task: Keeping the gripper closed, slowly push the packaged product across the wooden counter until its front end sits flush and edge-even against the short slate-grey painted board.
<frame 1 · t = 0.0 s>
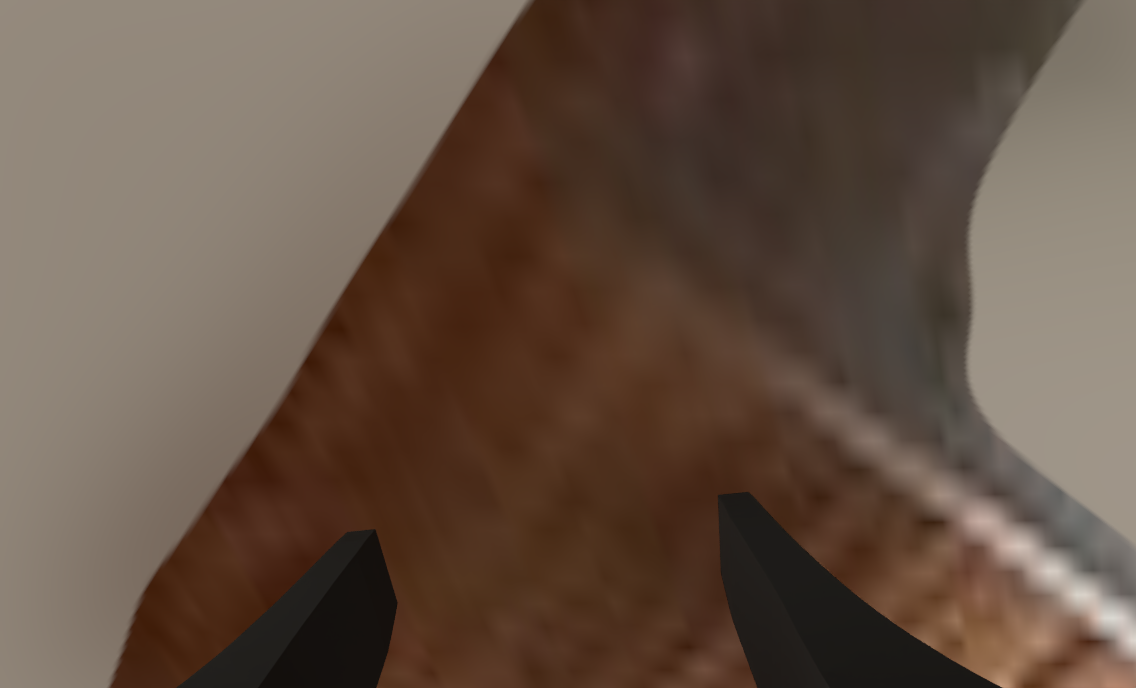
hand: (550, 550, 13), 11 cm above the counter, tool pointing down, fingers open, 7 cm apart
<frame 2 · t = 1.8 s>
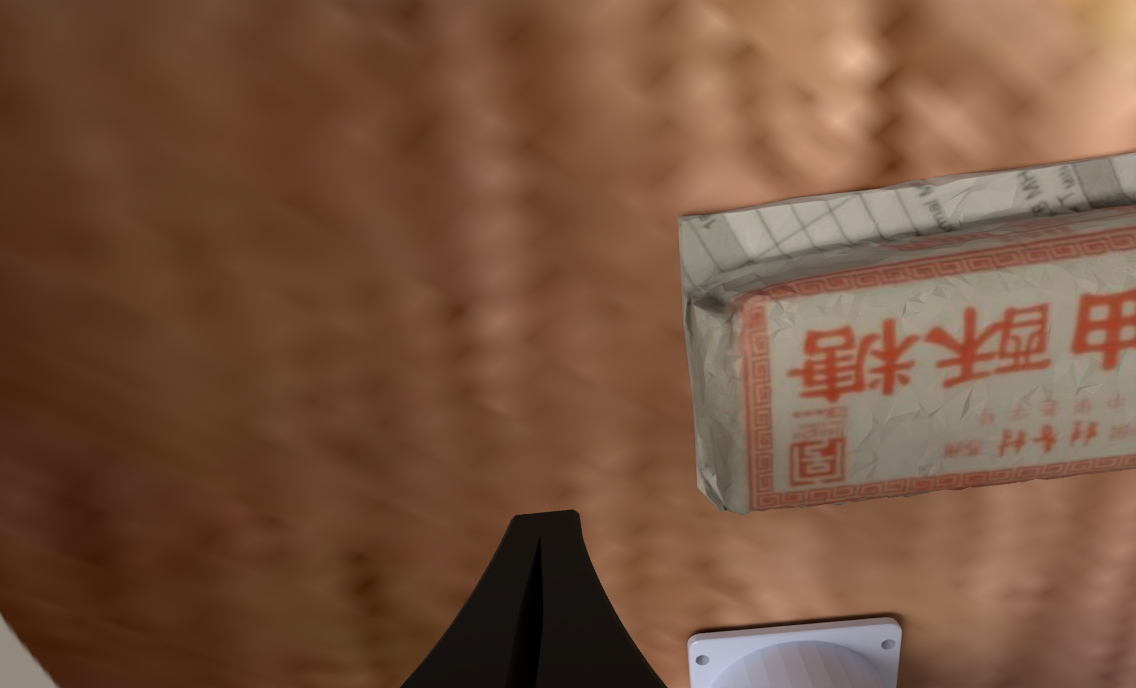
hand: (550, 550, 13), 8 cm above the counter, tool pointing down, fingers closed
packaged product: (962, 322, 20), on the counter
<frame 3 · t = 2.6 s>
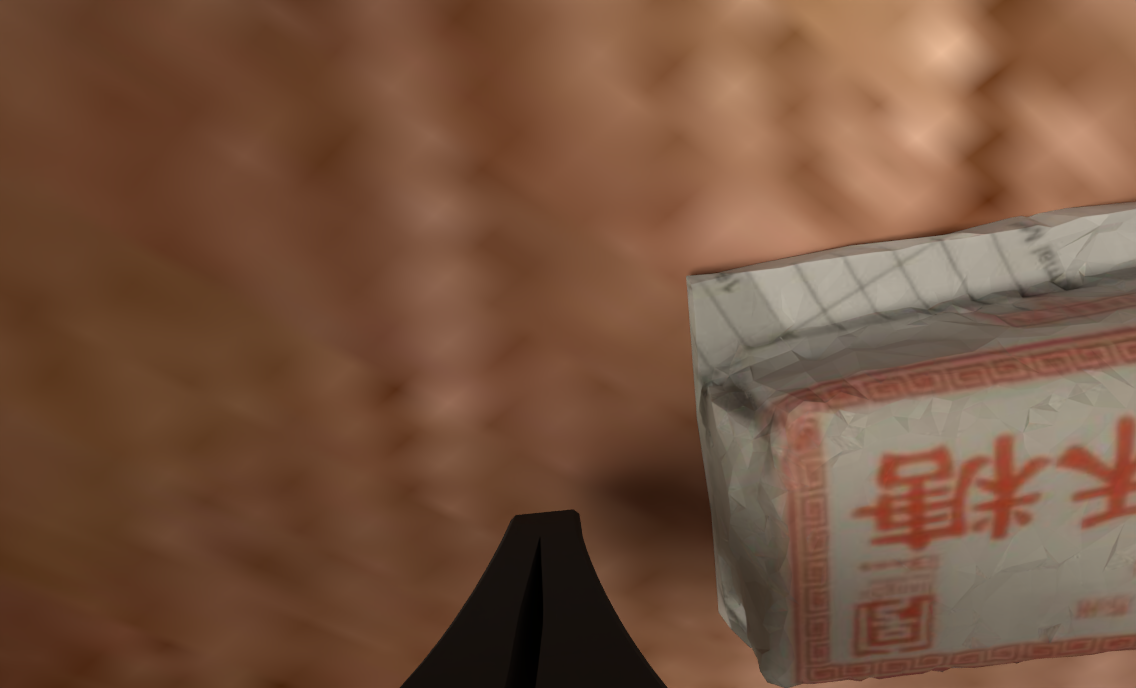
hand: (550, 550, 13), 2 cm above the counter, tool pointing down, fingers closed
packaged product: (1067, 397, 15), on the counter
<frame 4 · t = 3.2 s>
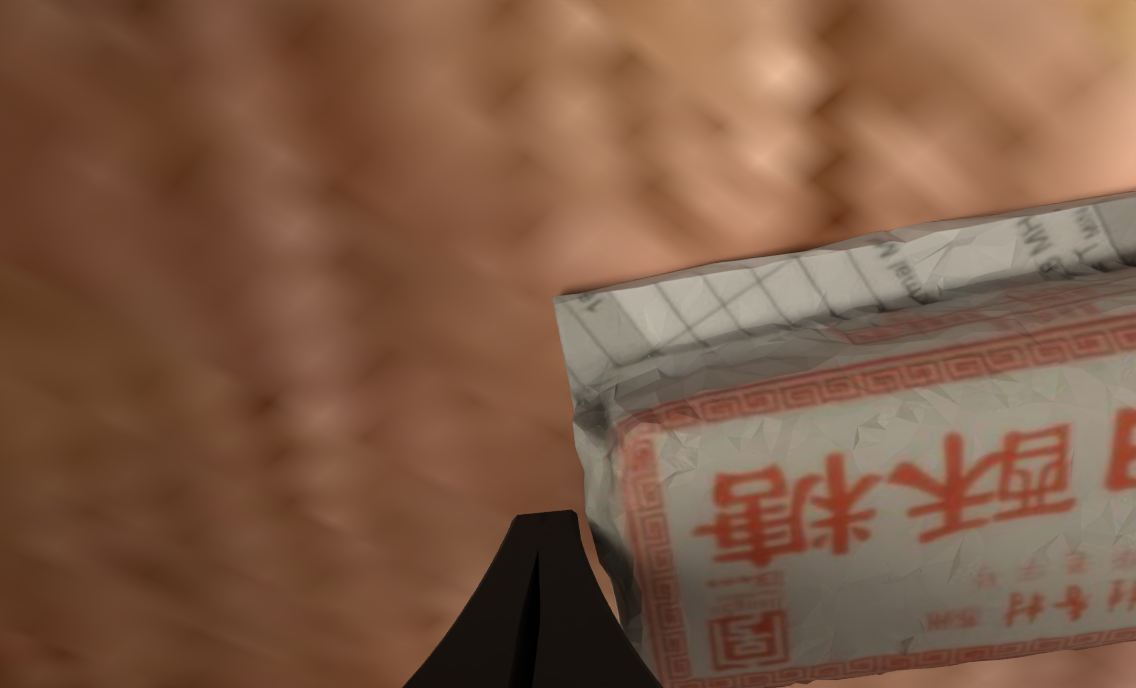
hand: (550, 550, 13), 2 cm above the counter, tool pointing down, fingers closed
packaged product: (953, 407, 15), on the counter, touching gripper
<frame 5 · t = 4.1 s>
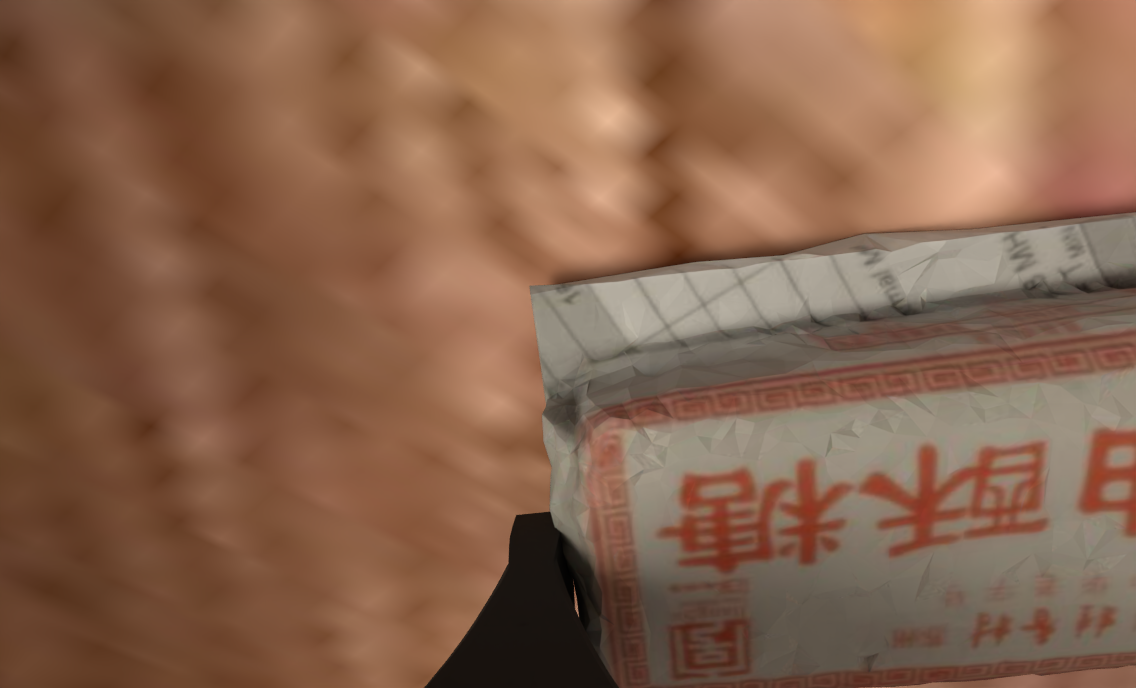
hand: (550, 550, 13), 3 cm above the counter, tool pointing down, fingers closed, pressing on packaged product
packaged product: (931, 423, 15), on the counter, touching board, gripper
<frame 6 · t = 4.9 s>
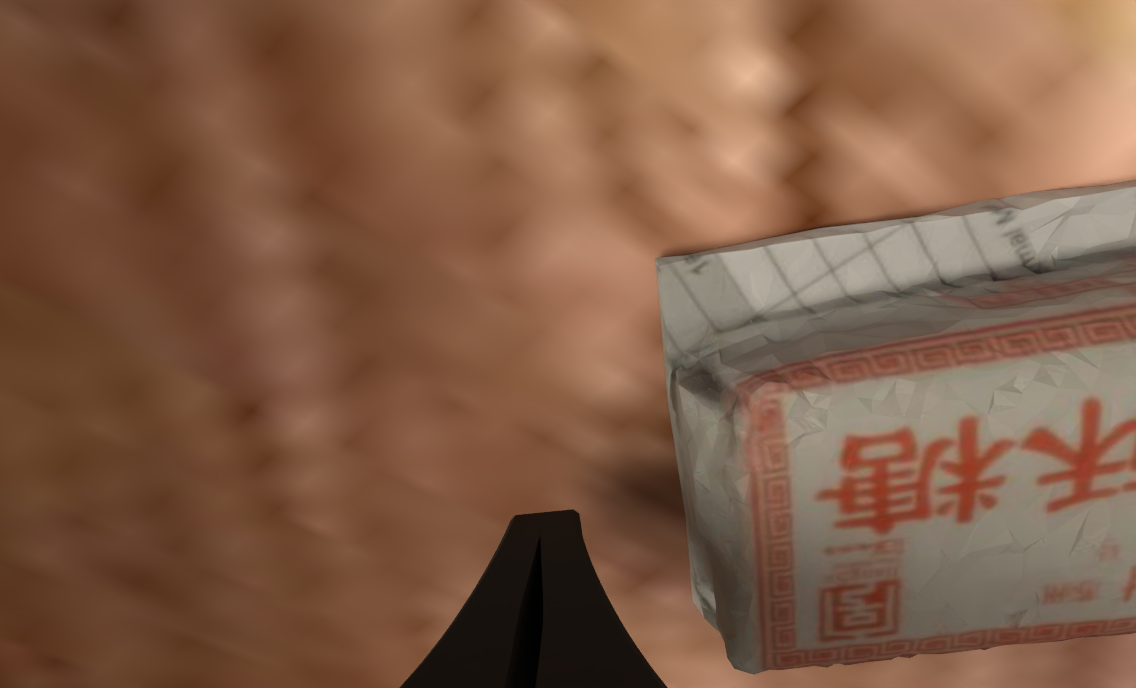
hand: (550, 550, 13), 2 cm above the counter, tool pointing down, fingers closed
packaged product: (1042, 385, 15), on the counter
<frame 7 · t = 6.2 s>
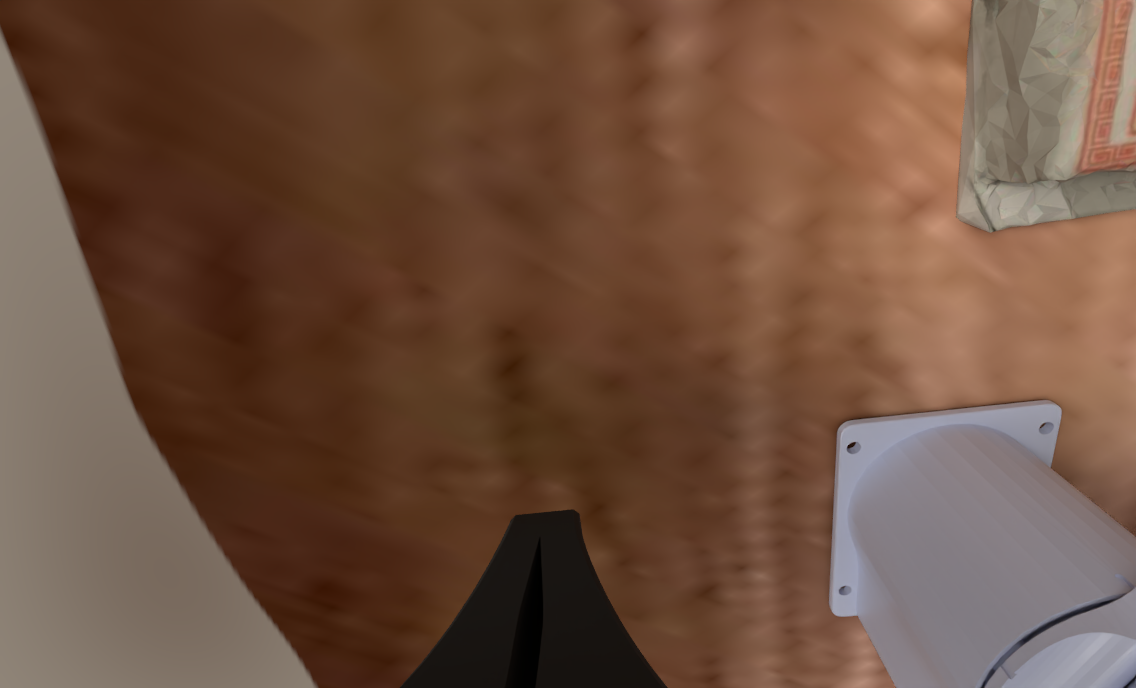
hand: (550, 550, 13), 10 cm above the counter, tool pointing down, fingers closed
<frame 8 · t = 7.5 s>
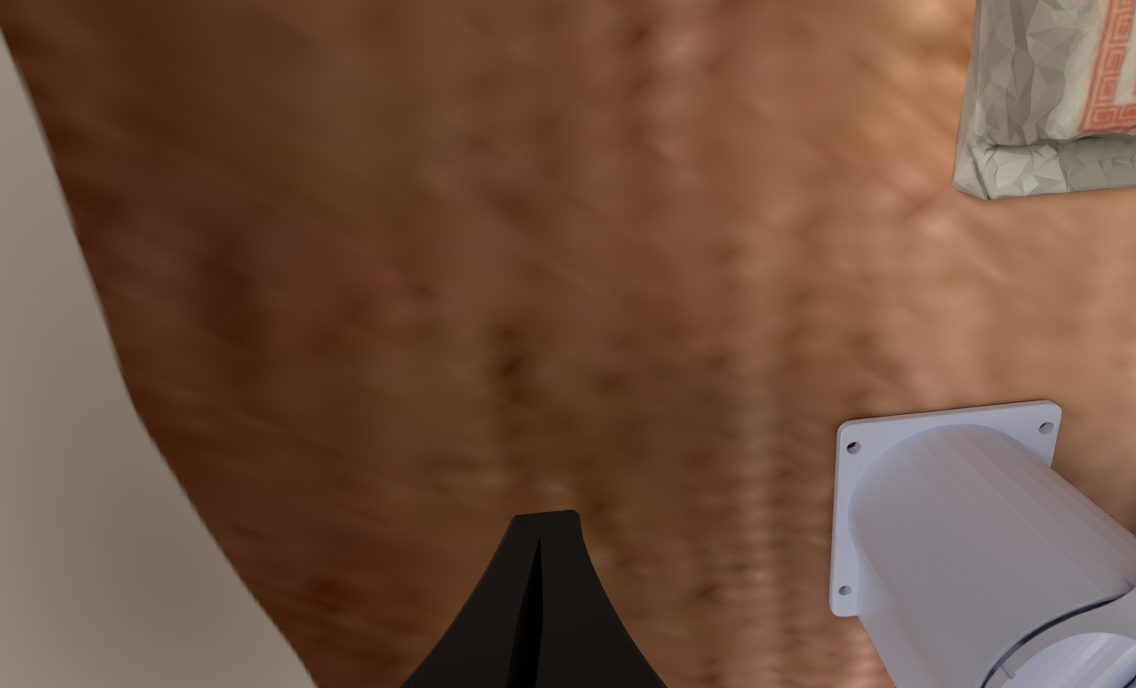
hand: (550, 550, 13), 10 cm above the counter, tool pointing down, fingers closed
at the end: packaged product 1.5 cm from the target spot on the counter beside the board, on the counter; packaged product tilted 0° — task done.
